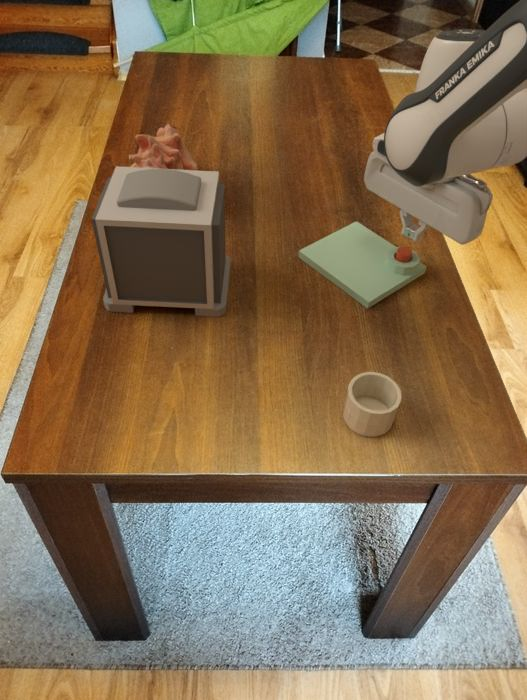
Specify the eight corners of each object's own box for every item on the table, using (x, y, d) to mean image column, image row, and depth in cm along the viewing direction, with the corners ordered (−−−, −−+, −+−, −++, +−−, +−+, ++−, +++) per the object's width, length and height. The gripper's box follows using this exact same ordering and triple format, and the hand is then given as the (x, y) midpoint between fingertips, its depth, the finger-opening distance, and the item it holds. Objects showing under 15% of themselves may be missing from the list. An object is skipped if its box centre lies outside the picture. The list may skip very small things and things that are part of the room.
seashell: (225, 209, 99) (161, 155, 88) (170, 250, 105) (105, 204, 94) (215, 135, 111) (158, 80, 101) (167, 175, 117) (109, 127, 107)
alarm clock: (231, 261, 95) (230, 160, 81) (225, 317, 86) (224, 213, 72) (120, 256, 95) (101, 153, 81) (103, 311, 86) (78, 206, 72)
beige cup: (403, 419, 74) (412, 395, 71) (369, 445, 71) (376, 422, 68) (366, 387, 78) (373, 363, 74) (332, 412, 75) (337, 388, 71)
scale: (424, 273, 95) (429, 259, 93) (367, 308, 88) (370, 294, 86) (355, 227, 103) (357, 213, 101) (297, 257, 96) (299, 242, 94)
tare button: (413, 259, 93) (415, 251, 92) (403, 265, 92) (405, 257, 91) (401, 252, 94) (404, 244, 93) (392, 257, 93) (394, 250, 92)
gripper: (510, 180, 76) (478, 262, 86) (393, 122, 86) (377, 202, 96) (481, 195, 73) (452, 279, 83) (365, 134, 83) (351, 215, 94)
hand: (411, 237), depth 90 cm, fingers closed
